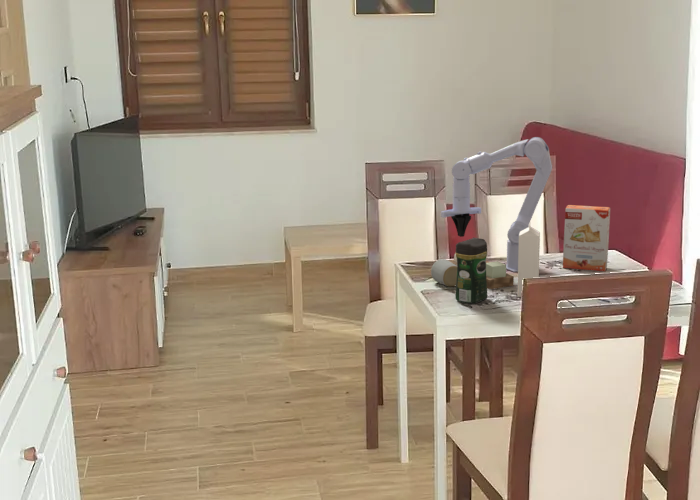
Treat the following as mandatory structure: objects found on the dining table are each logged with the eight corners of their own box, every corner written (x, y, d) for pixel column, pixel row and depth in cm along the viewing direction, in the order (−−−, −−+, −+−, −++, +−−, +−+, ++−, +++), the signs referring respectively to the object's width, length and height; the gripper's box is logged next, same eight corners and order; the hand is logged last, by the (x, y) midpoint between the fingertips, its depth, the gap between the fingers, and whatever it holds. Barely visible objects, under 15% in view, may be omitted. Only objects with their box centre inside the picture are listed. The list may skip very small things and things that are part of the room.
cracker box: (562, 268, 287) (564, 207, 282) (565, 264, 292) (567, 204, 287) (605, 272, 281) (608, 209, 276) (607, 267, 287) (610, 206, 282)
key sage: (497, 273, 273) (497, 261, 272) (506, 277, 268) (506, 264, 268) (483, 275, 271) (484, 263, 270) (492, 279, 267) (492, 266, 266)
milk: (517, 297, 257) (518, 225, 252) (518, 291, 263) (519, 221, 257) (538, 298, 255) (539, 225, 250) (538, 292, 261) (540, 221, 256)
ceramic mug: (443, 289, 266) (444, 265, 265) (430, 283, 274) (430, 259, 272) (472, 285, 271) (473, 261, 269) (458, 279, 278) (458, 256, 276)
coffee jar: (469, 293, 261) (470, 234, 257) (491, 298, 256) (492, 238, 252) (450, 301, 254) (450, 240, 250) (472, 306, 249) (473, 244, 245)
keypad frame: (469, 265, 293) (469, 257, 292) (513, 285, 268) (513, 276, 268) (447, 269, 290) (447, 260, 289) (489, 289, 265) (489, 280, 265)
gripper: (474, 192, 294) (473, 231, 298) (436, 196, 289) (436, 235, 292) (484, 196, 288) (484, 235, 291) (446, 200, 283) (446, 240, 286)
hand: (461, 236), depth 291 cm, fingers closed
